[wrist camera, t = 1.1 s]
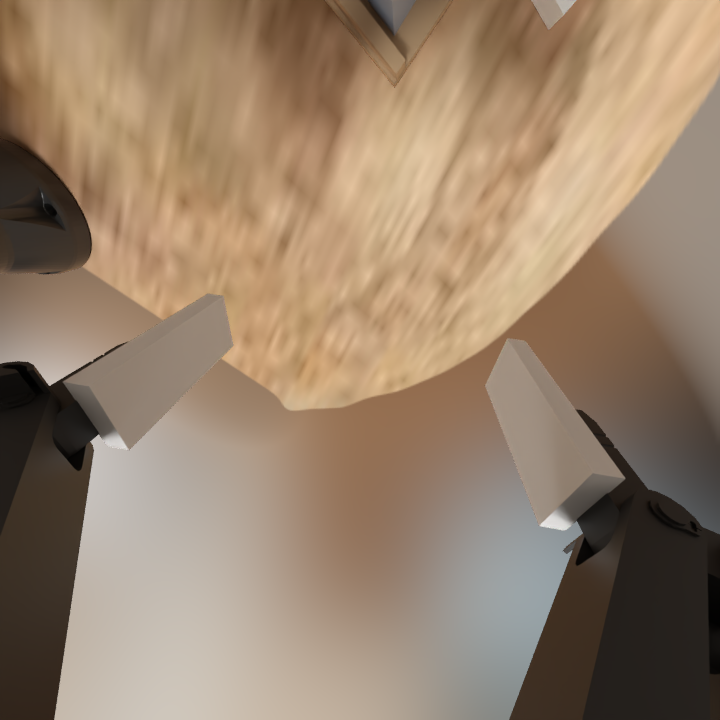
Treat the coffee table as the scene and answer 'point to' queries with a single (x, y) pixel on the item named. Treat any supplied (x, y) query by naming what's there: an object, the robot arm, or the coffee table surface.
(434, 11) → the wooden rail base
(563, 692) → the robot arm
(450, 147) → the coffee table surface
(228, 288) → the coffee table surface
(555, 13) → the port
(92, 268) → the coffee table surface
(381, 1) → the plug
